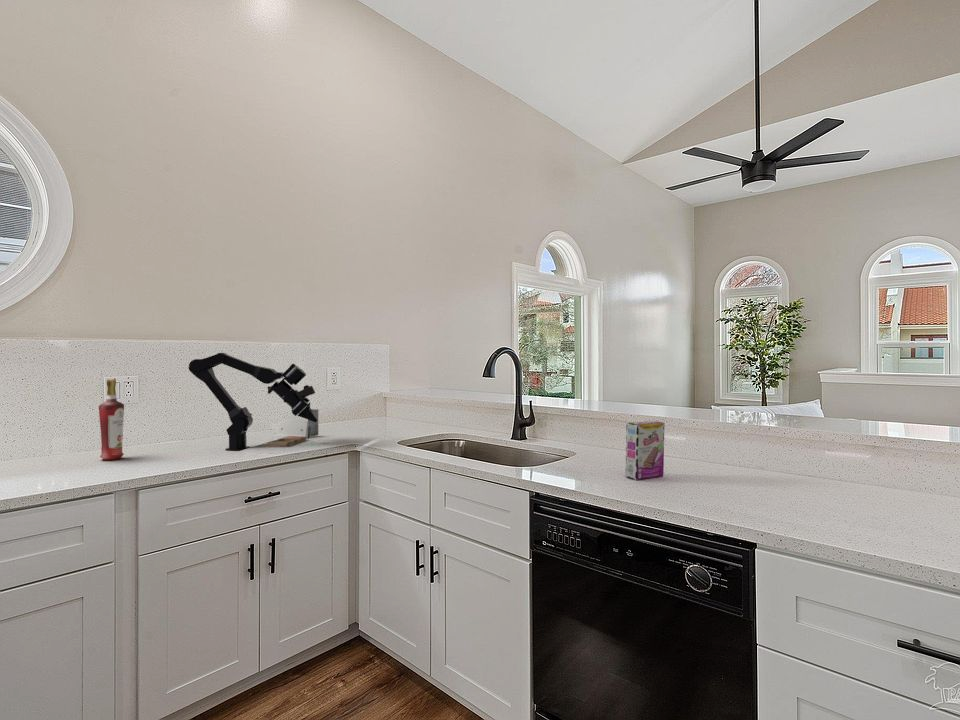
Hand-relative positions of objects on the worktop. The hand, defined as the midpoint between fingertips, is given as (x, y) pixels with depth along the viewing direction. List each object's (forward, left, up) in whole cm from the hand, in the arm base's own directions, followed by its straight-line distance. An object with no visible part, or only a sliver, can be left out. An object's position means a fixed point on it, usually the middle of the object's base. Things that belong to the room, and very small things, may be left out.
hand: (316, 420), depth 209 cm
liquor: (-35, +59, -10) cm, 69 cm away
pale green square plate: (-1, +1, -10) cm, 10 cm away
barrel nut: (-1, +1, -6) cm, 6 cm away
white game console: (+15, +18, -11) cm, 26 cm away
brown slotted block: (-1, +12, -10) cm, 16 cm away
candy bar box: (-35, -121, -10) cm, 126 cm away
